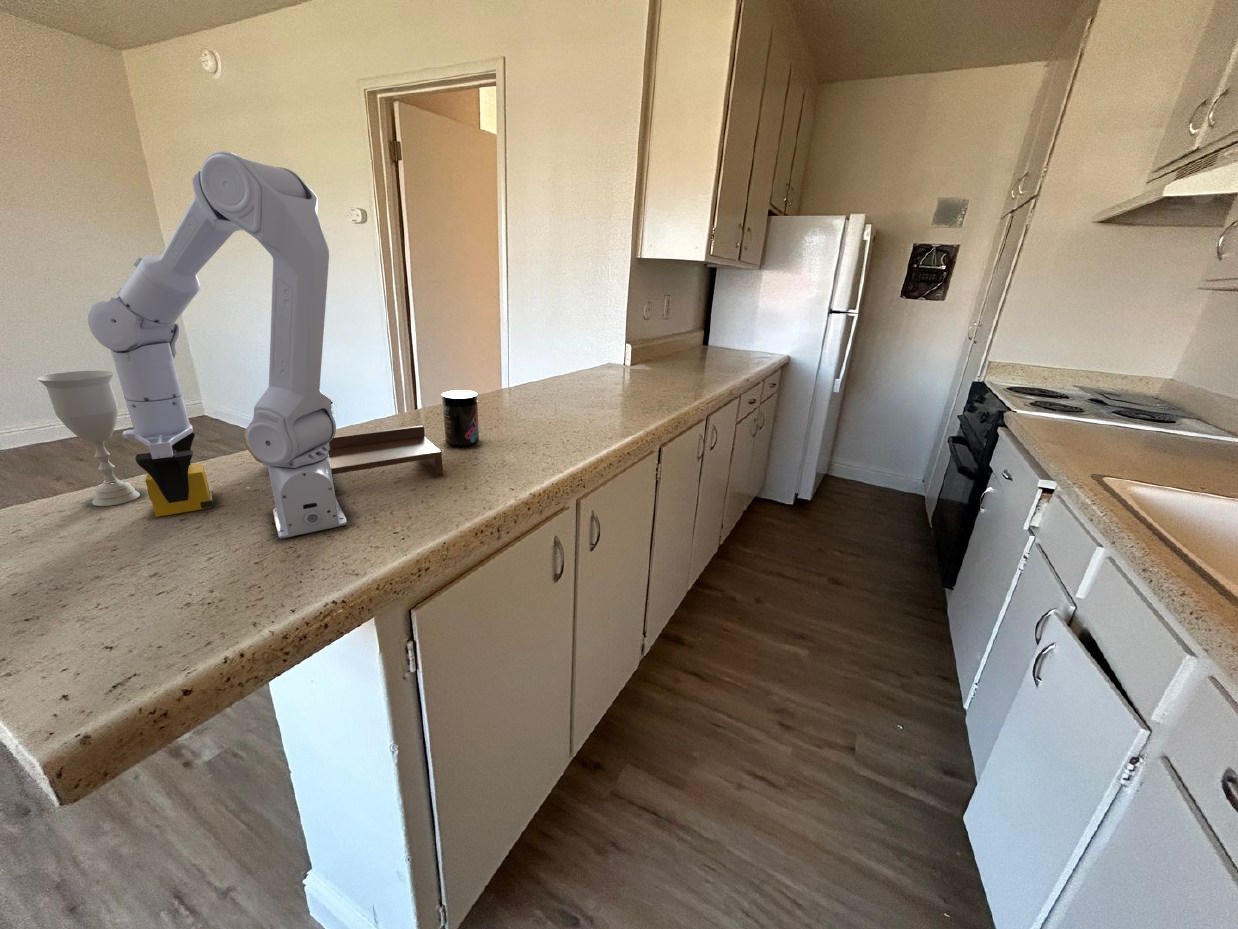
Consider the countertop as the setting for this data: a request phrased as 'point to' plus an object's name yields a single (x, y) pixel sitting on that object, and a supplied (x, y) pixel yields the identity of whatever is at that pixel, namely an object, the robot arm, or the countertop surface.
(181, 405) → the robot arm
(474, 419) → the supplement container
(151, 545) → the countertop surface
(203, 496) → the tape measure
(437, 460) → the shelf
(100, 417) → the chalice
